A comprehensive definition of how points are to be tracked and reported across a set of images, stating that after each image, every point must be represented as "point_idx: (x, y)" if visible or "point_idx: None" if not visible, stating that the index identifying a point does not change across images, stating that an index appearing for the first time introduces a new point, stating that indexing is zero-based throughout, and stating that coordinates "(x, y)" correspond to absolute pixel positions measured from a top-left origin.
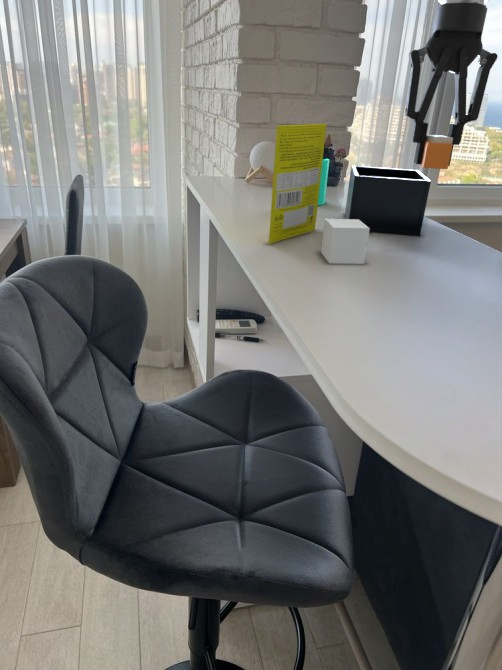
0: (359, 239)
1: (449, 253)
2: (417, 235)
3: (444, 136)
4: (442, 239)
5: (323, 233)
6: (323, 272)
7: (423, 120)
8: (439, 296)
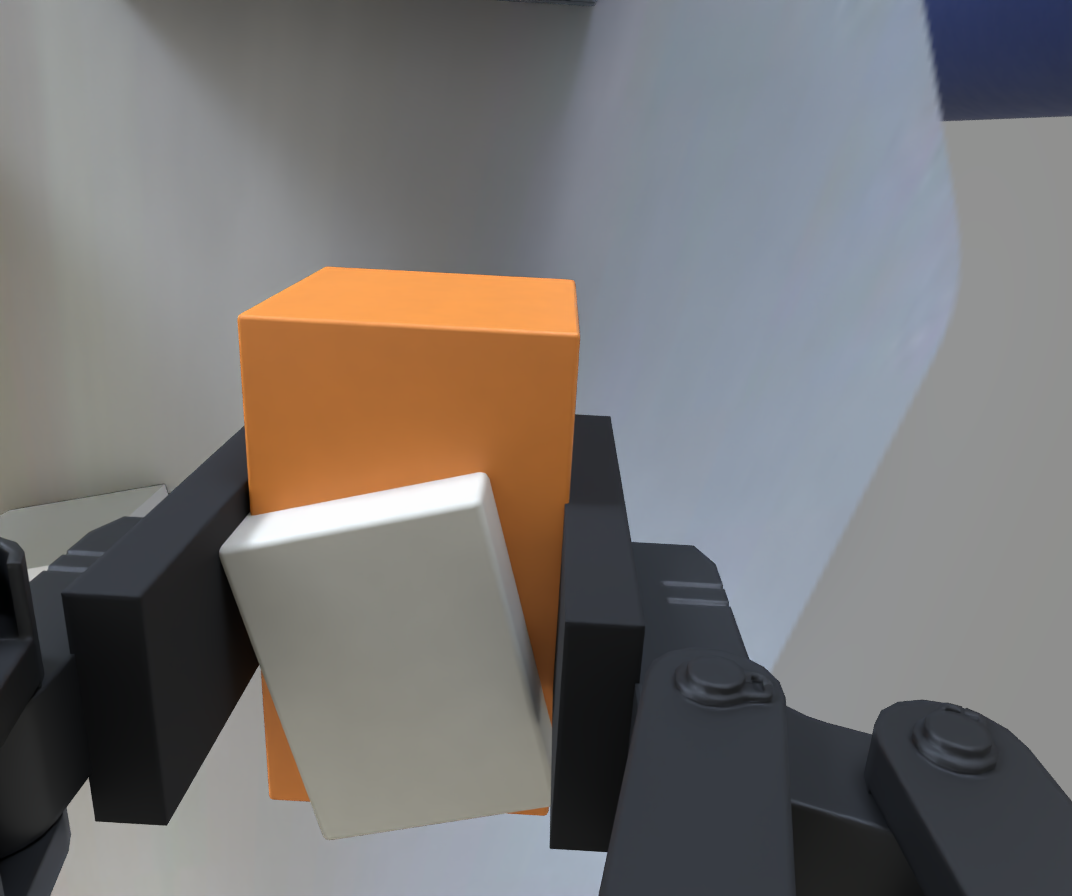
0: None
1: (672, 373)
2: (578, 4)
3: (473, 714)
4: (733, 55)
5: None
6: None
7: (63, 837)
8: (465, 889)
